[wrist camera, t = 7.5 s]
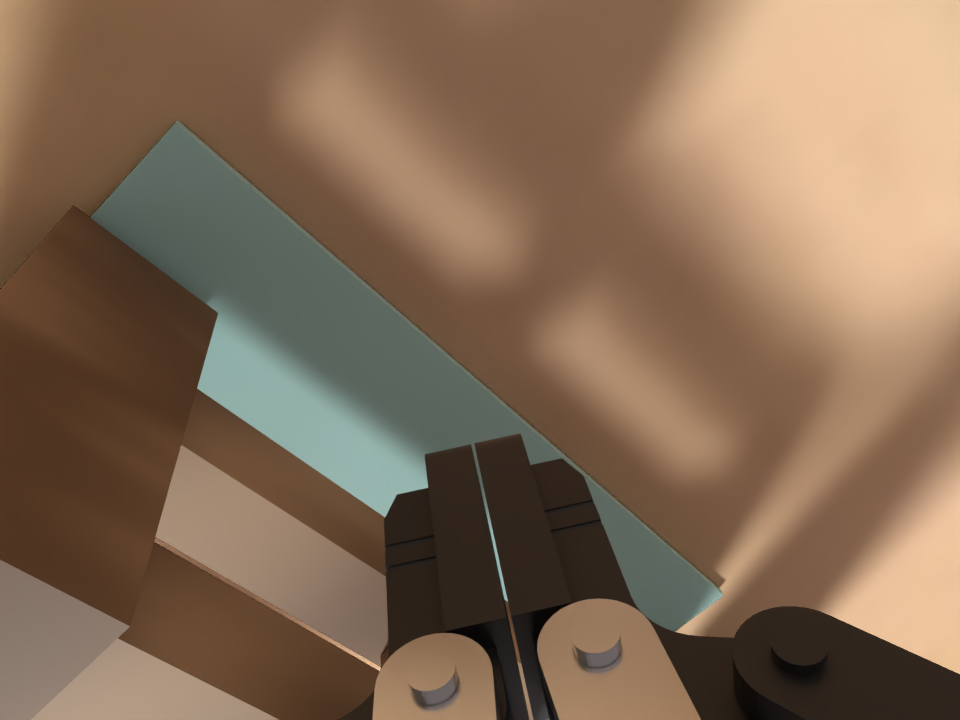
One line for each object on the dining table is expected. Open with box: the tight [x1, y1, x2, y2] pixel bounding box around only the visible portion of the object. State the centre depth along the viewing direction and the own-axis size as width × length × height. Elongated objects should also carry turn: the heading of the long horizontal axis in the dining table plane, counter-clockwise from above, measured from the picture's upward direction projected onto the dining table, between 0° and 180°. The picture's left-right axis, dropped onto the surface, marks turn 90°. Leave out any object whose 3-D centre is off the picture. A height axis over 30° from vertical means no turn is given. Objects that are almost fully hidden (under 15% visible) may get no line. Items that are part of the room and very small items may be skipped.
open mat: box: [90, 120, 724, 632], centre depth 18 cm, size 16×6×1 cm, turn 43°
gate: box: [0, 205, 533, 720], centre depth 14 cm, size 17×3×7 cm, turn 43°
